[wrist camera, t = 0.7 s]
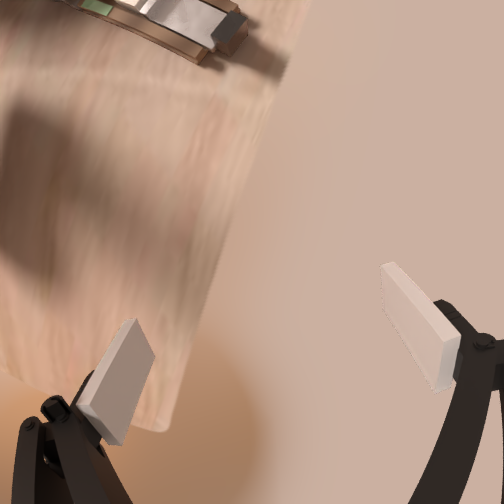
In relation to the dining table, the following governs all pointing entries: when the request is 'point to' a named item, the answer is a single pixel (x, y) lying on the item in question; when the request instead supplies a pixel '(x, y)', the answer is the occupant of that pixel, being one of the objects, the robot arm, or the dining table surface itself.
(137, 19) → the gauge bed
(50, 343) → the dining table surface
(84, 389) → the robot arm
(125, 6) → the cream cube
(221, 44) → the grey sliding carriage
